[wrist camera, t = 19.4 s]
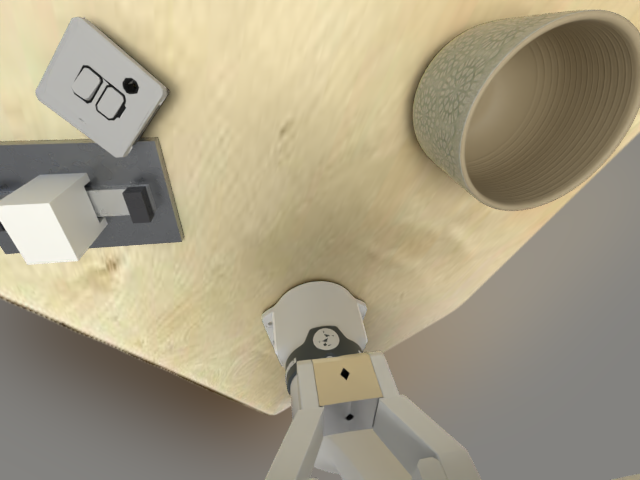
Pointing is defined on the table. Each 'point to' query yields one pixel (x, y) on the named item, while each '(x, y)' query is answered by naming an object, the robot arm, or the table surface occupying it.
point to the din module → (51, 218)
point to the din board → (101, 186)
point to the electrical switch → (100, 88)
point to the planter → (529, 104)
